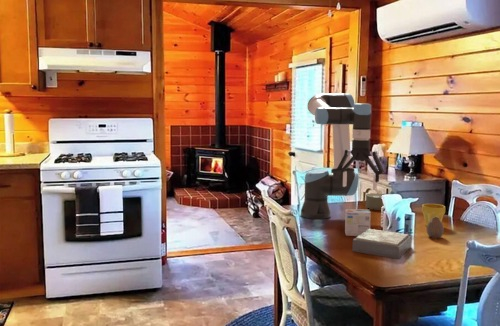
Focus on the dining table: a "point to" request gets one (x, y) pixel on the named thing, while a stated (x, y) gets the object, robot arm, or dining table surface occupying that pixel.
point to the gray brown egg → (435, 228)
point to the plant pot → (432, 212)
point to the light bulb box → (356, 221)
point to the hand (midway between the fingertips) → (359, 187)
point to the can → (374, 201)
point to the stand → (382, 243)
